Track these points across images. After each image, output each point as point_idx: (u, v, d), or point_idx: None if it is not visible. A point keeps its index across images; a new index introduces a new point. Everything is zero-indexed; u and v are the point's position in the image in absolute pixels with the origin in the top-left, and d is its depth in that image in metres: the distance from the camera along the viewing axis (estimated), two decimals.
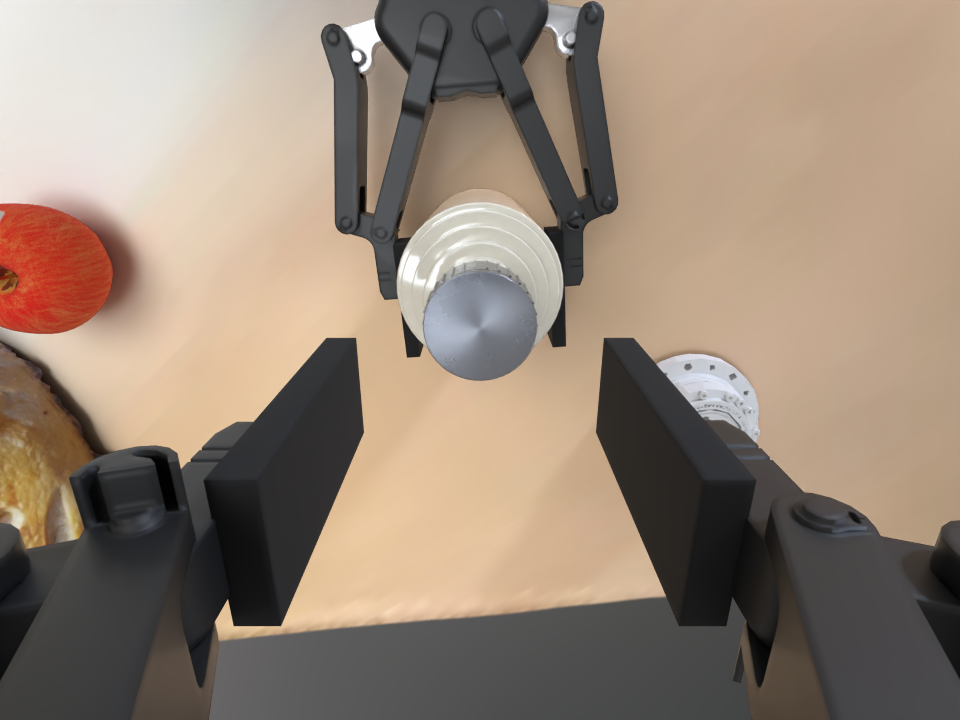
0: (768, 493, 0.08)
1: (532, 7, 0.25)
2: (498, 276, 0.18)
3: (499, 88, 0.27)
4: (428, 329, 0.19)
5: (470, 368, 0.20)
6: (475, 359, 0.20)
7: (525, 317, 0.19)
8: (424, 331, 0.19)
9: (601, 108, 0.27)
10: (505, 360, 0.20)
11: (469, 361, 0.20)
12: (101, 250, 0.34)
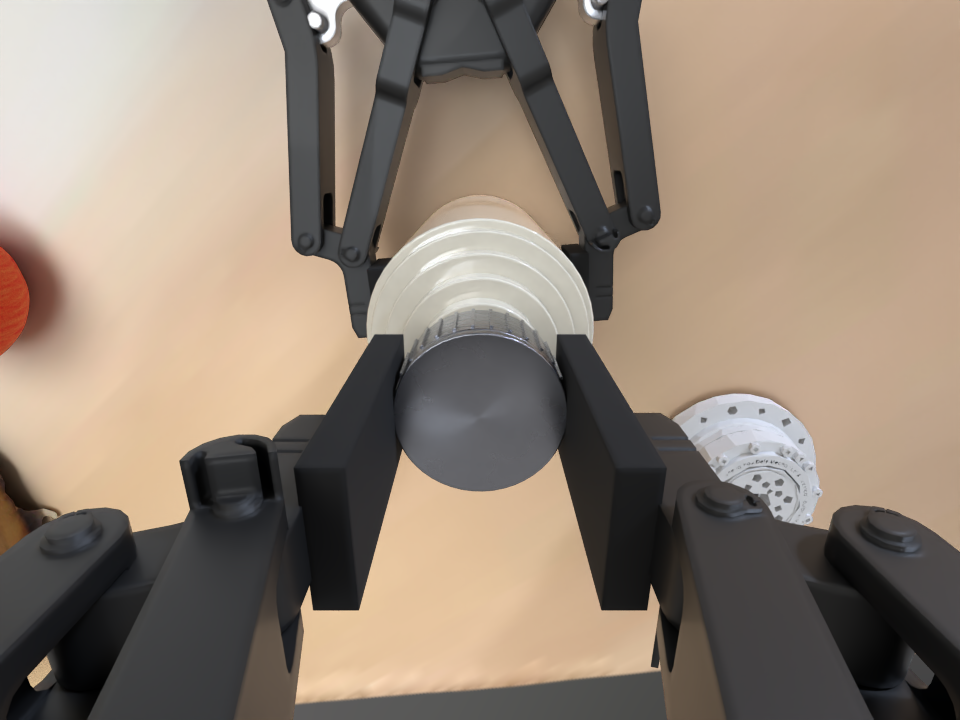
0: (686, 481, 0.09)
1: None
2: (509, 341, 0.12)
3: (506, 64, 0.20)
4: (401, 419, 0.12)
5: (465, 474, 0.13)
6: (473, 461, 0.13)
7: (550, 401, 0.12)
8: (395, 421, 0.13)
9: (641, 91, 0.20)
10: (518, 463, 0.13)
11: (464, 464, 0.13)
12: (10, 272, 0.28)
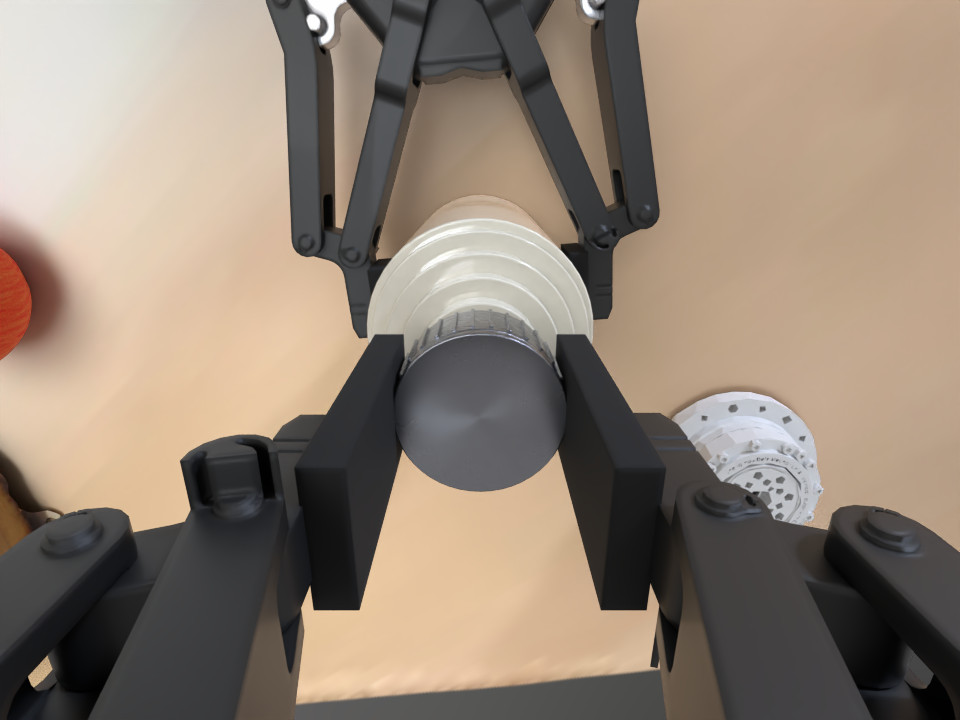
0: (685, 481, 0.09)
1: None
2: (397, 400, 0.12)
3: (504, 64, 0.20)
4: (490, 484, 0.13)
5: (547, 424, 0.13)
6: (532, 418, 0.12)
7: (455, 354, 0.12)
8: (494, 488, 0.13)
9: (639, 90, 0.20)
10: (530, 375, 0.12)
11: (536, 426, 0.13)
12: (12, 274, 0.28)
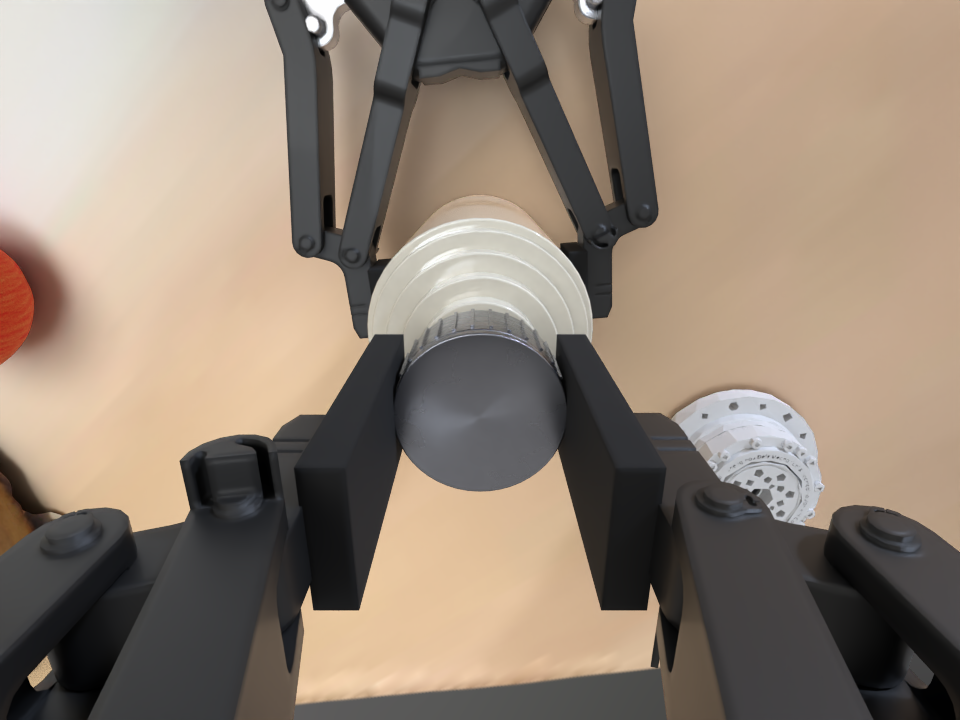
0: (685, 481, 0.09)
1: None
2: (470, 488, 0.13)
3: (502, 64, 0.20)
4: (558, 400, 0.12)
5: (480, 352, 0.12)
6: (476, 368, 0.12)
7: (417, 444, 0.13)
8: (563, 394, 0.12)
9: (637, 89, 0.20)
10: (428, 376, 0.12)
11: (485, 364, 0.12)
12: (15, 277, 0.28)
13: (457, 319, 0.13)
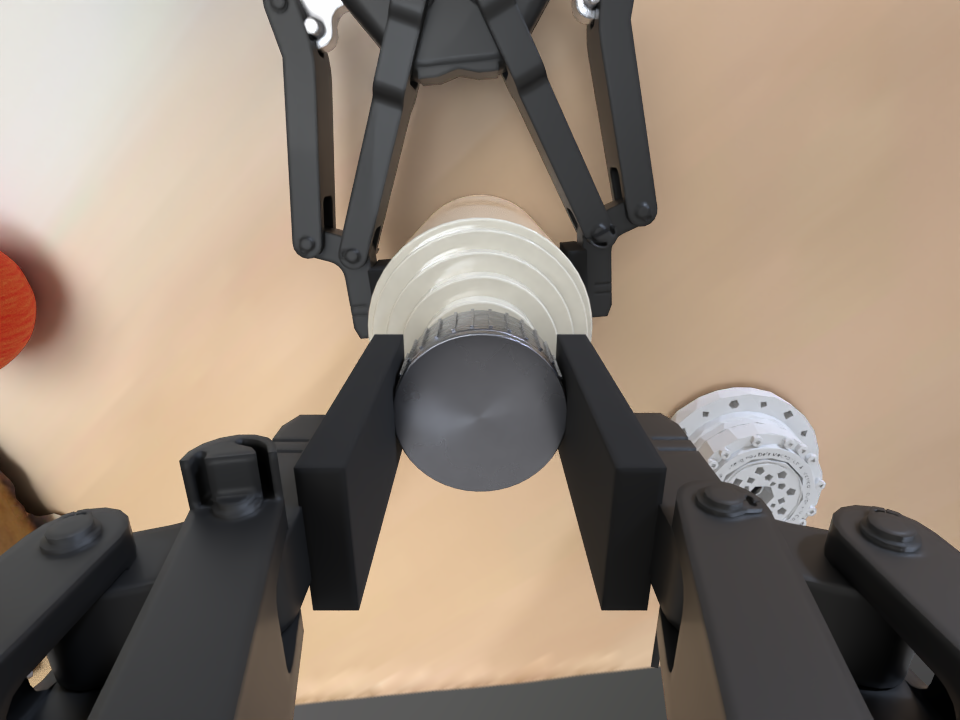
0: (686, 481, 0.09)
1: None
2: (564, 417, 0.12)
3: (501, 65, 0.20)
4: (451, 347, 0.12)
5: (412, 423, 0.13)
6: (429, 425, 0.13)
7: (516, 469, 0.13)
8: (445, 341, 0.12)
9: (635, 88, 0.20)
10: (443, 464, 0.13)
11: (423, 418, 0.12)
12: (17, 280, 0.28)
13: None
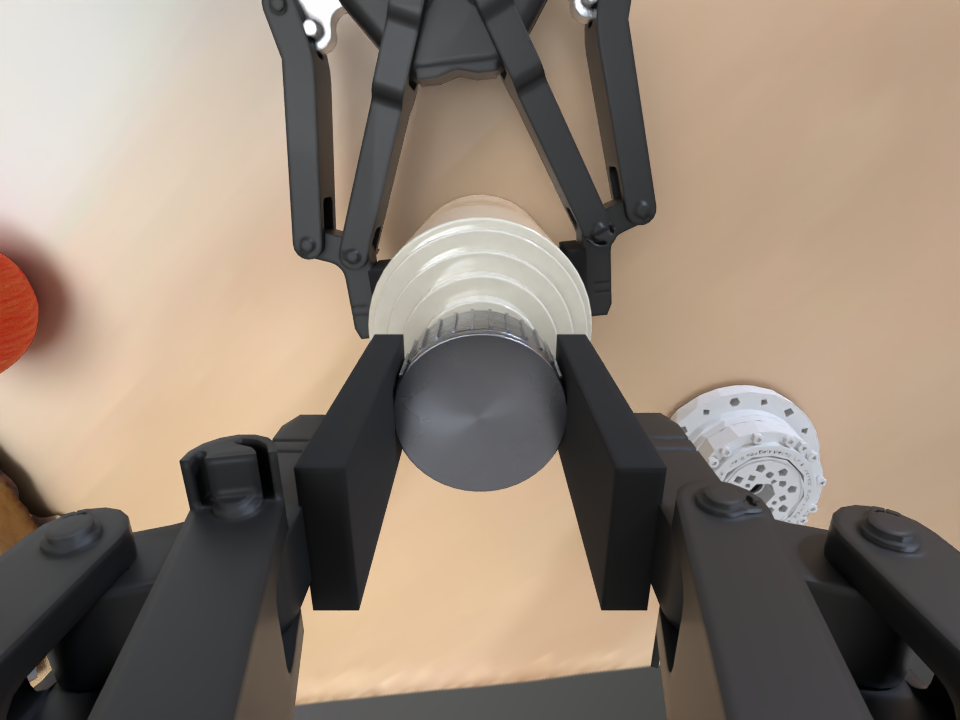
0: (686, 481, 0.09)
1: None
2: (471, 337, 0.12)
3: (499, 65, 0.20)
4: (410, 448, 0.13)
5: (493, 474, 0.13)
6: (494, 460, 0.13)
7: (537, 376, 0.12)
8: (406, 452, 0.13)
9: (633, 87, 0.20)
10: (537, 445, 0.13)
11: (487, 466, 0.13)
12: (19, 283, 0.28)
13: None
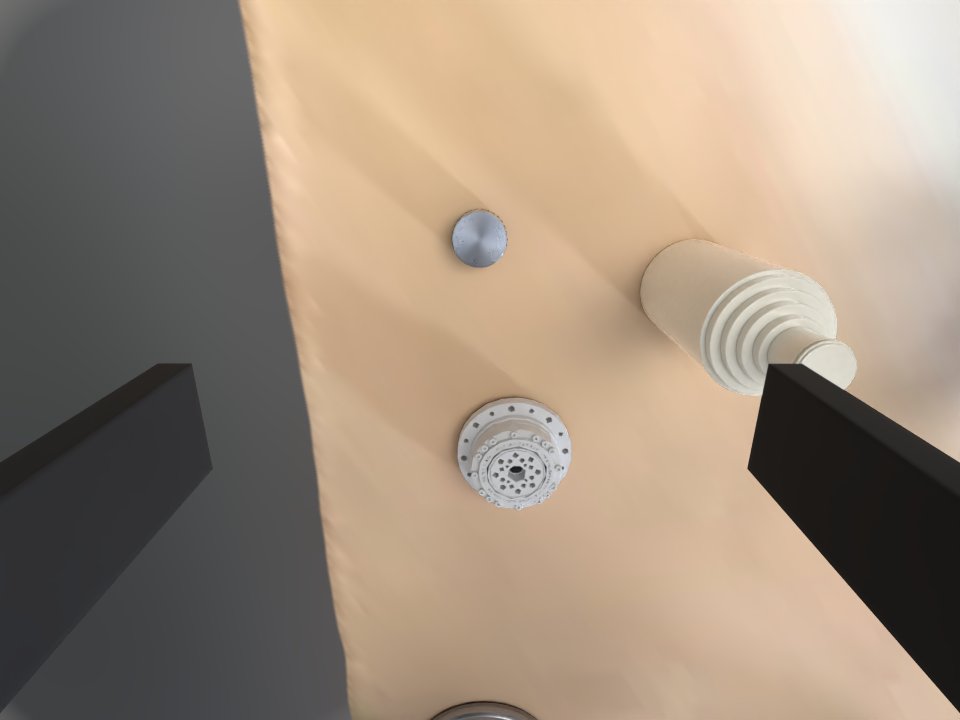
0: None
1: None
2: (477, 213, 0.39)
3: None
4: (457, 251, 0.40)
5: (483, 261, 0.40)
6: (484, 255, 0.40)
7: (497, 226, 0.40)
8: (456, 252, 0.40)
9: None
10: (497, 250, 0.40)
11: (481, 257, 0.40)
12: None
13: None
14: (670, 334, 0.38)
